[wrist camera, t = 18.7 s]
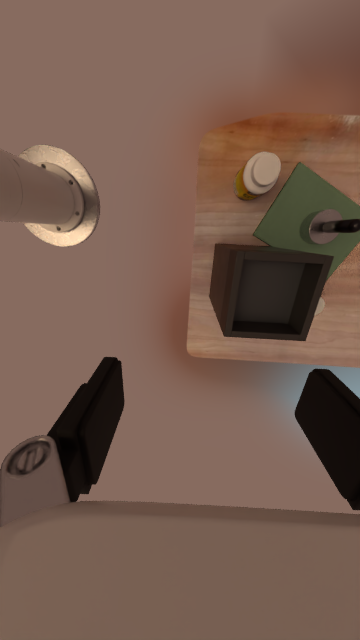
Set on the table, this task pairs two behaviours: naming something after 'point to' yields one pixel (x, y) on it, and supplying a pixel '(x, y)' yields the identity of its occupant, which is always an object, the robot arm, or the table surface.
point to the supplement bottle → (257, 176)
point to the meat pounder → (326, 226)
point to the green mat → (298, 202)
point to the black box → (266, 290)
